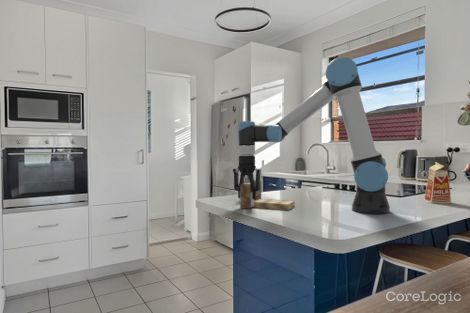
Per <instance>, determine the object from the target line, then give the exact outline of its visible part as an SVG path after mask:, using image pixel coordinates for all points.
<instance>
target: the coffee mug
mask: <svg viewBox="0 0 470 313" xmlns="http://www.w3.org/2000/svg"><path fill="white" fill-rule="evenodd" d="M254 182H255V186H256V179H254ZM244 183H250V180H249V179H244ZM257 192H258V193H259V194H260V197H259V198H257V199H262V181H261V180H260V190H259V191H257Z"/></svg>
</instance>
